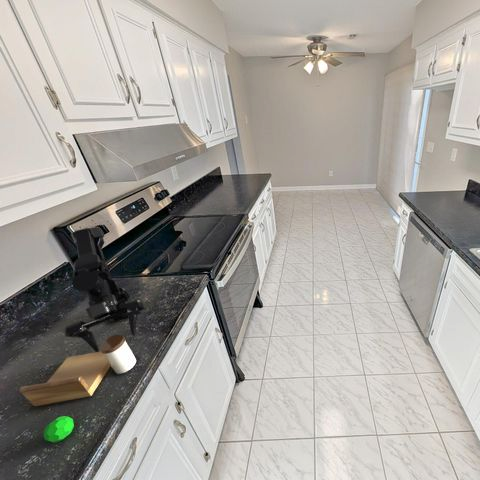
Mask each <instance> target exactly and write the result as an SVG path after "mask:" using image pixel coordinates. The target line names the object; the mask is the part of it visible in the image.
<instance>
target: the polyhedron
mask: <svg viewBox="0 0 480 480" xmlns="http://www.w3.org/2000/svg"><path fill="white" fill-rule="evenodd" d="M74 423H75V422H74V419H73V418H71V417H69V416H67V415H62V416H59V417H57V418H56V419H55V418H54V420H53V421H51V422H50V423H49V424H47V425H46V426H45V429H44V431H43V438H44V440H45V441H48V442H50V443H57V442H61V441H62V440H64V439H66V438H67V436H69V435H70V434H71V433H72V431H73V429H74V428H75V424H74Z"/></svg>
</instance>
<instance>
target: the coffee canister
mask: <svg viewBox="0 0 480 480" xmlns="http://www.w3.org/2000/svg"><path fill="white" fill-rule="evenodd" d="M98 349H99V352H101V353H103V355H104V356H105V358H106V359H107V361H108V362H109V364H110V365H111V366H110V368H112V370H113V371H114V373H115V374H117V375H120V374H124V373H127V372H128V371H130V370H131V369H132V368H133V367H134V366H135V365H136V363H137V358H136V356H135V354H134V353H133V351H132V349H131V348H130V346H129V344H128V343H127V341H126V338H125V337H124V335H123V334H113V335H111V336H109V337H107V338H105V339H104V340H103V341H102V342H101V343H100V344H99V345H98Z"/></svg>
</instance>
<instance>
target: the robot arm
mask: <svg viewBox="0 0 480 480" xmlns="http://www.w3.org/2000/svg"><path fill="white" fill-rule="evenodd" d="M70 236H71V238H72V240H73V243H74V244H76V249H77V256H78V257H77V258H76V260H75V261H74V263H73V265H74V266H73V267H74V268H73V269H72V283H71V286H72V288H73V289H75V290H76V291H78V292H80V293H82V294H83V295H86V298H87V301H88V306H87V307H86V308H85V312H86V314H87V316H88V318H89V319H92V320H89V321H86V322H85V321H82V320H80V321H77V322H74V323H72V324H68V325H66V326H65V327H64V329H63V333H64V336H65V337H67V338H77V339H82V340H83V341H84V342H86V343H87V344H88V346H89V347H91V349H93V351H94V352H100V350H99V345H98V344H97V341H96V338H95V336H94V334H93V331H90V329H91V328H93V327H96V326H98V325H101V324H102V323H105V322H108V321H109V323H110V324H113V323H115V322H119V321H121V320H124V319H128V324H129V328H130V332H131V334H132V336H133V337H135V336H136V329H137V321H138V316H139V315H140V314H141V313H142V312H141V311H144V310H145V305H144V303H143V301H142V300H140V299H134V300H132V301H129V299H130V297H131V295H130V294H129V292H128V291H127V290H126V289H125V288H124V287H123V286H121V285H119V284H118V282H116V281H115V280H114V279H113V278H112V274H111V273H110V270H109V265H108V263H107V260H106V257H105V256H104V255H105V254H104V252H103V247H104V245H105V244H106V243H105V239H104V237H105V233H104V231H103V230H102V228H101V227H97V226H92V227H84V228H80V229H76V230H74V231H72V233H70ZM128 301H129V302H128Z"/></svg>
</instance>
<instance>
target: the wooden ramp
mask: <svg viewBox="0 0 480 480" xmlns="http://www.w3.org/2000/svg"><path fill="white" fill-rule="evenodd" d="M110 368H111V365H110V364H109V362H108V361H107V359H106V358H105V356H104V355H103V353H101V351H99V352H96V351H94V352H90V353H83V354H78V355H72V356H71V355H70V356H67V358H65V360H64V361H63V362H62V364H61V365H60V366H59V367H58V368H57V369H56V371H55V372H53V374H52V376H50V378H49V379H48V380H47V381H46V382H42V383H36V384H31V385H25V386H21V387H20V388H19V389H18V392H19V393H21V394H22V396H23V397H25V399H27V401H29V403H31V405H32V406H33V407H39V406H45V405H50V404H55V403H60V402H65V401H71V400H77V399H82V398H87V397H92V396H93V394H94V393H95V391H96V389H97V388H98V386H99V385H100V383H101V381H102V380H103V379H104V377H105V375H106V373H108V371H109V369H110Z"/></svg>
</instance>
